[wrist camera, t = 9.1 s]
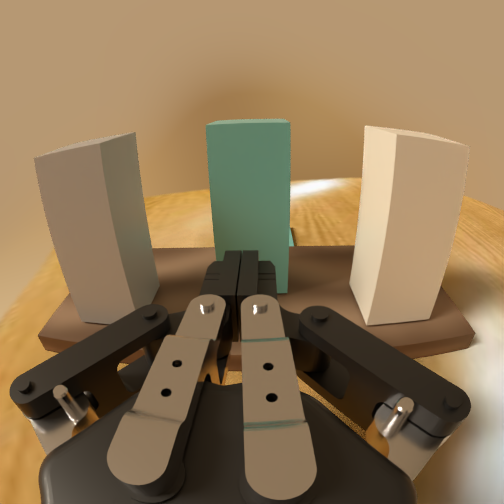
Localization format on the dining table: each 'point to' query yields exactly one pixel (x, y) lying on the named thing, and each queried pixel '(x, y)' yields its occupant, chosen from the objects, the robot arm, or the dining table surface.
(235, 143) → the tall teal pillar
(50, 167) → the tall grey rectangular prism
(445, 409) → the robot arm
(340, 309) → the dark wooden board
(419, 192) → the cream tall rectangular block
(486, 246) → the dining table surface
